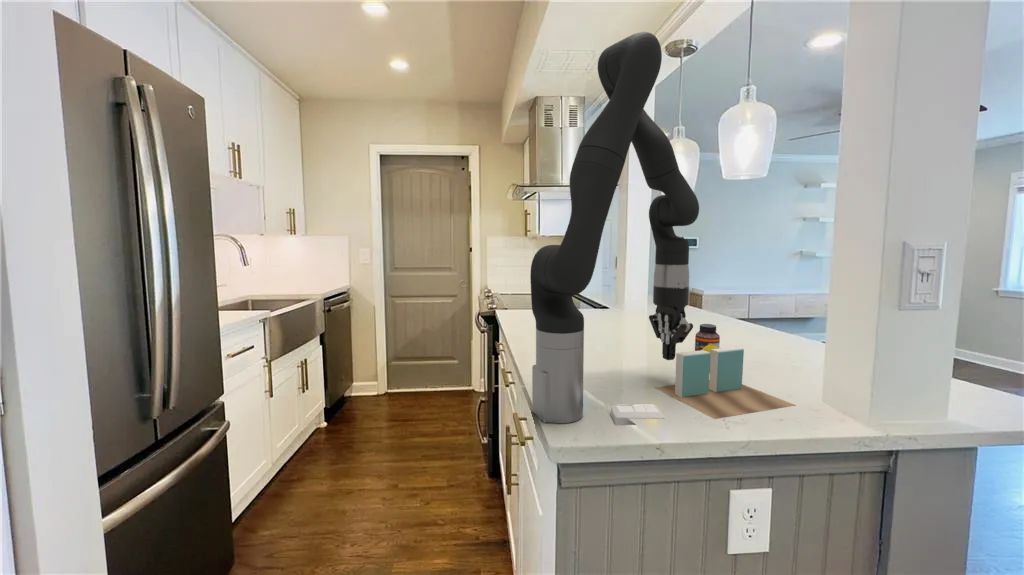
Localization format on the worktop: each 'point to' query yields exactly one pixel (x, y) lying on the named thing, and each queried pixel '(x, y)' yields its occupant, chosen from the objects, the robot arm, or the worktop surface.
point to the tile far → (726, 369)
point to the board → (729, 401)
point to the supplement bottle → (706, 337)
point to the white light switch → (634, 413)
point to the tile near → (692, 373)
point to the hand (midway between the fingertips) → (668, 359)
